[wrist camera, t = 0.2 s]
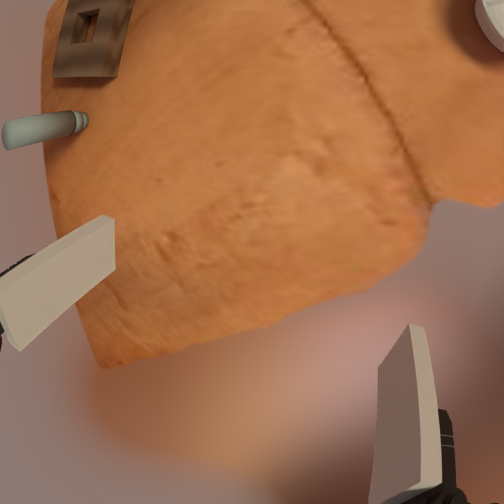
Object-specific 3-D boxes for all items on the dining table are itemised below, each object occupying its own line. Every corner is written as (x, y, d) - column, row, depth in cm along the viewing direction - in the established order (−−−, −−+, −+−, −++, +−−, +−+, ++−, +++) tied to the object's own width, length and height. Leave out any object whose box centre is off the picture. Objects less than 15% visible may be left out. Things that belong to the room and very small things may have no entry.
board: (85, -9, 32) (72, -12, 29) (141, -22, 30) (128, -28, 27) (65, 77, 41) (51, 78, 38) (116, 77, 38) (101, 76, 35)
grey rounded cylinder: (77, 108, 43) (2, 120, 29) (92, 109, 42) (14, 121, 28) (74, 131, 45) (1, 148, 31) (90, 134, 44) (13, 151, 30)
